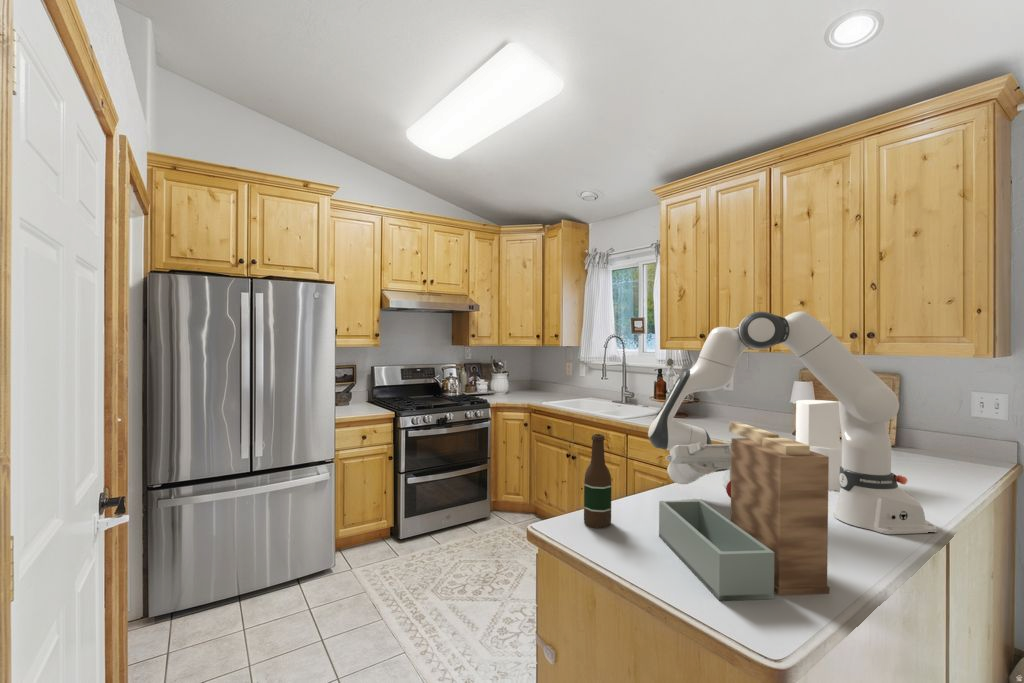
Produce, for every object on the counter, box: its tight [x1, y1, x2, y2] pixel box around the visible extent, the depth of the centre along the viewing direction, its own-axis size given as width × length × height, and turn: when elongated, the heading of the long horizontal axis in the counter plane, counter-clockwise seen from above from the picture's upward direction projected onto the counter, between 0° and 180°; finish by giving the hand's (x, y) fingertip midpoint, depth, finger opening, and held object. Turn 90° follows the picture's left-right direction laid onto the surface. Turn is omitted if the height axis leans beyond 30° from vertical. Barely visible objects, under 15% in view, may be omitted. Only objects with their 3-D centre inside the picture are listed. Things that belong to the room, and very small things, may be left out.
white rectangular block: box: [795, 399, 842, 492], centre depth 168 cm, size 17×17×28 cm
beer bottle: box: [583, 433, 612, 530], centre depth 130 cm, size 8×8×24 cm
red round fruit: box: [725, 481, 731, 499], centre depth 148 cm, size 6×6×8 cm
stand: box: [730, 437, 831, 596], centre depth 104 cm, size 19×11×27 cm, turn 5°
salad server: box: [728, 421, 810, 455], centre depth 109 cm, size 24×5×2 cm, turn 5°
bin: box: [658, 499, 775, 602], centre depth 108 cm, size 30×11×9 cm, turn 5°
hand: (719, 445), depth 128 cm, fingers open, 8 cm apart
